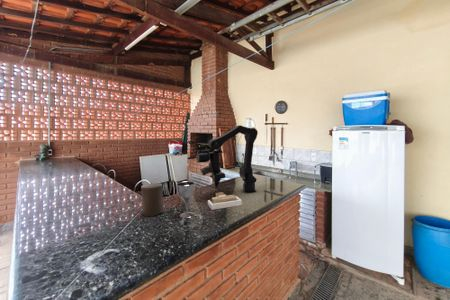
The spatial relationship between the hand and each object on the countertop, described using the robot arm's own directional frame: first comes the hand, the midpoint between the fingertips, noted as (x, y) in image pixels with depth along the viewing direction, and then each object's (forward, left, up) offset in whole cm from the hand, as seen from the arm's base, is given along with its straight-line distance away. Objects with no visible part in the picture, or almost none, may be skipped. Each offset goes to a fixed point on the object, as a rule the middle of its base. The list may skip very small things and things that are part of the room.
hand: (216, 187), depth 121 cm
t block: (0, +11, -6) cm, 12 cm away
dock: (0, +14, -6) cm, 15 cm away
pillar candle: (+35, +10, -6) cm, 37 cm away
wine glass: (+20, +20, -6) cm, 29 cm away
